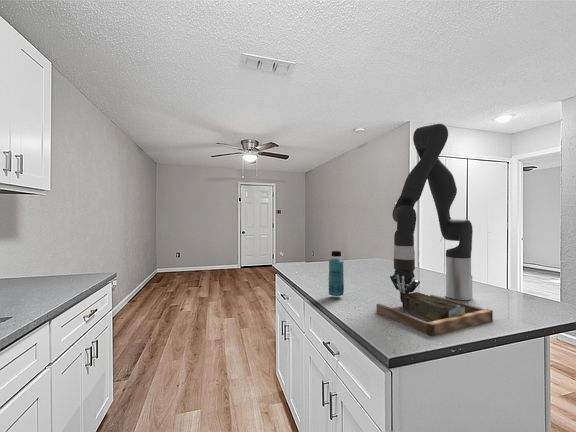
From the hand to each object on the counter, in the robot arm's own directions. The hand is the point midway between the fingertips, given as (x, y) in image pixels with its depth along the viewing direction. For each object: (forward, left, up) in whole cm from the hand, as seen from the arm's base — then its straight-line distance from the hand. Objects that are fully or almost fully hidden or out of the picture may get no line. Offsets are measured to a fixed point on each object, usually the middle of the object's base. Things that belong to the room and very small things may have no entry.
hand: (404, 302), depth 108 cm
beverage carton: (+1, +12, -2) cm, 12 cm away
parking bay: (0, +12, -2) cm, 12 cm away
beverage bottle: (+17, -21, -2) cm, 27 cm away
